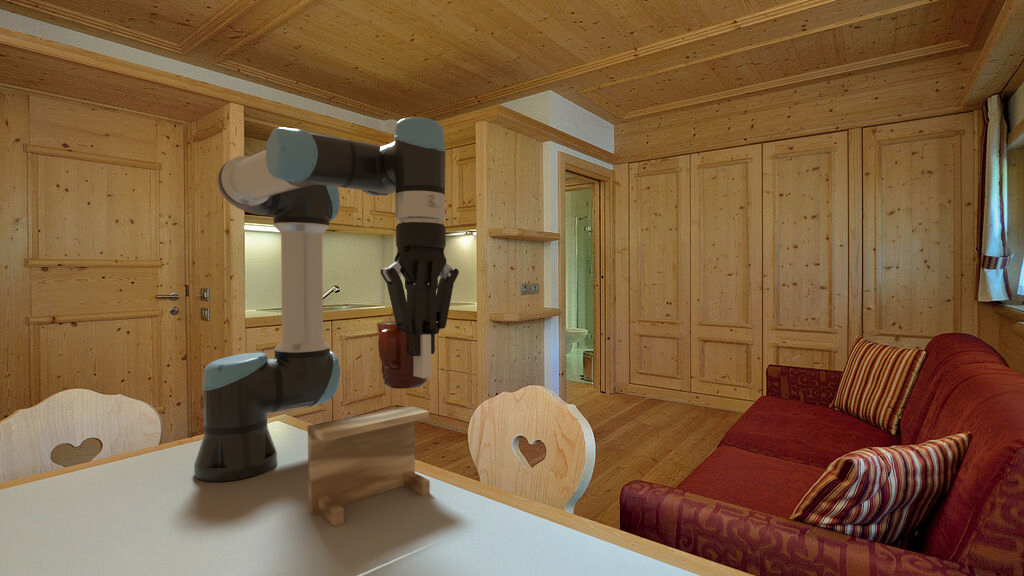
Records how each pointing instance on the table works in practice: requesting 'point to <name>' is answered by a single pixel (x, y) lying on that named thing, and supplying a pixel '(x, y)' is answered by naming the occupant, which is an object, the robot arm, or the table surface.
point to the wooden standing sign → (362, 459)
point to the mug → (396, 357)
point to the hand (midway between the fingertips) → (422, 376)
